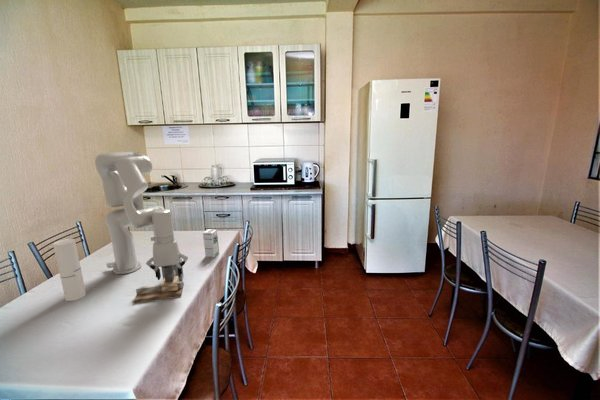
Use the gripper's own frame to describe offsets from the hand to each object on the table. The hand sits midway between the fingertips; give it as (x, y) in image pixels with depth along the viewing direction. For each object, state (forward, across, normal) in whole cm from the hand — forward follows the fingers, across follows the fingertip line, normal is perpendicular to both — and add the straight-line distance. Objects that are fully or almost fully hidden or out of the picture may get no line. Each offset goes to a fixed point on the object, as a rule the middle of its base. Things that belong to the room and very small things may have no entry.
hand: (169, 276), depth 127 cm
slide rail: (+7, -4, 0) cm, 8 cm away
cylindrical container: (+7, -40, +8) cm, 41 cm away
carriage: (+5, 0, 0) cm, 5 cm away
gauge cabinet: (+7, 0, +11) cm, 13 cm away
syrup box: (+7, +16, +36) cm, 40 cm away
